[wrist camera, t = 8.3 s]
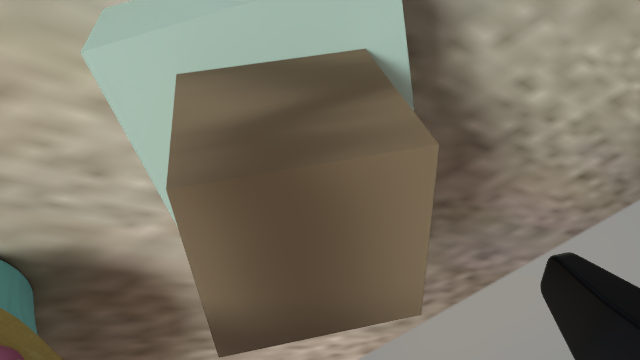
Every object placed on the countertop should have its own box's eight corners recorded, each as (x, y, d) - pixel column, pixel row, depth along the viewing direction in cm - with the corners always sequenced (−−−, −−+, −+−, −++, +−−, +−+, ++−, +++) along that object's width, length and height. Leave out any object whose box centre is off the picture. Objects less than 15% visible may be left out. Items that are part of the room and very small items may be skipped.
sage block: (354, -67, 15) (397, -42, 12) (387, 141, 20) (424, 200, 17) (105, 5, 15) (80, 52, 11) (201, 199, 20) (201, 270, 16)
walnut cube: (365, 48, 13) (439, 144, 9) (365, 194, 16) (421, 314, 12) (176, 74, 12) (165, 189, 8) (213, 220, 15) (218, 357, 11)
